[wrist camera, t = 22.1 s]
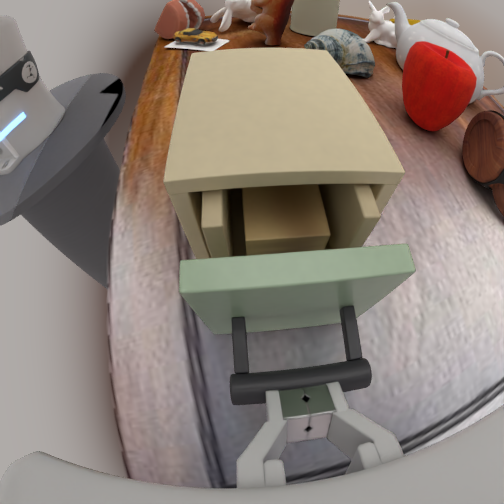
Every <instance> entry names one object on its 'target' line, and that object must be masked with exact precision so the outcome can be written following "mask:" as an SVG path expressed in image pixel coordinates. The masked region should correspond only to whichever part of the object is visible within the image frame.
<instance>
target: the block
mask: <svg viewBox="0 0 504 504" xmlns="http://www.w3.org/2000/svg"><path fill="white" fill-rule="evenodd" d="M242 202H243V216H244V231H245V244H246V256H248V255H262V254H276V253H289V252H302V251H316V250H324V249H325V247H326V245H327V242H328V240H329V238H330V236H331V234H330V229H329V225H328V221H327V217H326V213H325V209H324V205H323V201H322V198H321V194H320V190H319V186H318V184H302V185H279V186H260V187H245V188H242Z"/></svg>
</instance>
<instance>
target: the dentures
mask: <svg viewBox="0 0 504 504" xmlns="http://www.w3.org/2000/svg"><path fill="white" fill-rule="evenodd" d="M204 18H205V14H204V10H203V8H202V7H201V6H200V5H199V4H198V3H197V2H196V1H194V0H172V1H170V2H168V3H167V4H166V6H165V8H164V9H163V11H162V14H161V16H160V18H159V20H158V22H157V25H156V27H155V30H154V31H155V32H157V33H158V34H159V35H160V36H161V37H163V38H165V39H171V38H173V36H174V34H175V33H176V32H178V31H182V30H184V29H187V28H196V29H198V28H199V27H200V26H201V24H202V23H203V21H204Z"/></svg>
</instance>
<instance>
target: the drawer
mask: <svg viewBox="0 0 504 504" xmlns="http://www.w3.org/2000/svg"><path fill="white" fill-rule="evenodd" d="M318 186H319V190H320V194H321V198H322V201H323V205H324V209H325V213H326V217H327V221H328V225H329V229H330V234H331V236H330V238H329V240H328V242H327V245H326V247H325V249H324V250H316V251H302V252H289V253H276V254H262V255H248V256H246V244H245V231H244V216H243V202H242V188H232V189H219V190H208V191H202V222H201V228H202V231H203V234H204V237H205V240H206V243H207V246H208V249H209V252H210V255H211V258H207V259H193V260H182V261H180V274H179V292H180V294H181V295H182V297H183V298H184V299H185V300H186V302H187V303H188V304H189V305H190V306H191V308H192V309H193V310H194V311H195V313H196V314H197V315H198V316H199V317H200V319H201V320H202V321H203V322H204V323H205V324H206V326H207V327H208V328H209V329H210V330H211V331H212V333H213V334H232V339H233V355H234V371H235V373H236V374H232V375H231V376H230V394H231V401H232V404H233V405H247V404H262V403H266V393H265V392H266V391H270V390H281V389H293V388H302V387H307V386H314V385H320V384H326V383H332V382H339V384H340V386H341V389H342V391H343V392H347V391H352V390H357V389H361V388H366V387H368V386H369V385H370V383H371V378H372V373H371V367H370V364H369V362H368V360H367V359H365V358H362V353H361V346H360V339H359V332H358V326H357V320H356V318H357V317H359V316H360V315H361V314H363V313H364V312H365V311H367V310H368V309H369V308H371V307H372V306H373V305H375V304H376V303H377V302H379V301H380V300H381V299H383V298H384V297H385V296H386V295H388V294H389V293H390V292H391V291H393V290H394V289H395V288H396V287H398V286H399V285H400V284H401V283H403V282H404V281H405V280H406V279H407V278H409V277H410V276H411V275H412V274H413V273H414V272H415V271H416V269H415V266H414V262H413V259H412V256H411V252H410V249H409V246H408V244H395V245H382V246H369V247H362V245H363V244H364V242H365V241H366V239H367V238H368V236H369V235H370V233H371V232H372V230H373V229H374V227H375V226H376V224H377V222H378V221H379V219H380V217H381V215H380V213H379V210H378V207H377V204H376V201H375V199H374V196H373V193H372V191H371V188H370V186H369V184H318ZM335 323H341V325H342V331H343V338H344V345H345V352H346V360H347V361H345V362H339V363H333V364H327V365H320V366H313V367H306V368H298V369H289V370H280V371H270V372H258V373H249V363H248V349H247V335H246V333H248V332H261V331H273V330H284V329H294V328H303V327H312V326H320V325H328V324H335ZM360 358H361V359H360Z"/></svg>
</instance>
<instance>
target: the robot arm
mask: <svg viewBox="0 0 504 504" xmlns="http://www.w3.org/2000/svg"><path fill="white" fill-rule="evenodd" d="M64 114H65V108H64V106H62V105H61V104H60V103H59V102H58V101H57V100H56V98H55V97H54V96H53V95H52V94H51V92H50V91H49V90H48V88H47V87H46V85H45V84H44V82H43V81H42V79H41V78H40V76H39V73H38V69H37V65H36V63H35V60H34V58H33V56H32V54H31V52H30V51H27V49H26V47H25V44H24V42H23V39H22V36H21V34H20V31H19V28H18V26H17V23H16V21H15V19H14V18H12V17H10V16H0V175H5V174H9V173H11V172H12V171H13V170H14V169H15V168H16V167H17V166H18V165H19V163H20V162H21V161H22V160H23V159H24V158H25V157H26V156H27V155H28V154H29V153H31V152H32V151H33V150H34V149H35V148H37V147H38V146H39V145H40V144H41V143H42V142H43V141H44V140H45V139H46V138H47V137H48V136H49V135H50V134H51V133H52V132H53V131H54V129H55V128H56V127H57V126H58V124H59V123H60V121H61V120H62V118H63V116H64ZM265 393H266V413H267V422H265V423H264V424H263V426H262V427H261V428H260V430H259V431H258V433H257V434H256V435H255V437H254V438H253V440H252V441H251V442H250V444H249V445H248V446H247V448H246V449H245V450H244V452H243V453H242V454H241V456H240V457H239V458H238V460H237V488H196V487H183V486H173V485H164V484H157V483H150V482H144V481H139V480H133V479H128V478H123V477H119V476H115V475H110V474H106V473H103V472H99V471H95V470H92V469H88V468H85V467H82V466H79V465H76V464H73V463H69V462H67V461H64V460H62V459H59V458H56V457H54V456H51V455H48V454H46V453H44V452H40V451H37V452H33V453H31V454H28V455H26V456H24V457H22V458H20V459H19V460H17V461H15V462H13V463H12V464H11V465H10V466H9V467H8V469H7V470H6V472H5V473H4V475H3V477H2V479H1V481H0V504H504V405H502V406H501V407H499V408H498V409H496V410H495V411H493V412H492V413H490V414H488V415H487V416H485V417H484V418H482V419H480V420H479V421H477V422H475V423H474V424H472V425H470V426H468V427H467V428H465V429H463V430H461V431H459V432H457V433H456V434H454V435H452V436H450V437H448V438H446V439H444V440H442V441H440V442H437V443H435V444H433V445H431V446H429V447H426V448H424V449H422V450H419V451H417V452H414V453H412V454H409V455H407V456H405V455H404V453H403V451H402V449H401V447H400V444H399V442H398V440H397V438H396V436H395V434H394V433H392V432H391V431H389V430H387V429H385V428H384V427H382V426H380V425H379V424H377V423H375V422H374V421H372V420H371V419H369V418H367V417H366V416H364V415H362V414H361V413H359V412H358V411H356V410H355V409H349V406H348V404H347V401H346V399H345V396H344V394H343V391H342V389H341V386H340V384H339V382H332V383H326V384H320V385H314V386H307V387H302V388H293V389H281V390H270V391H266V392H265ZM321 438H327V439H328V440H329V441H330V442H331V443H333V444H334V445H335V446H336V447H337V448H338V449H339V450H340V451H342V452H343V453H344V454H345V455H346V456H347V457H349V458H350V459H351V460H352V461H351V463H350V465H349V467H348V469H347V471H346V473H345V475H341V476H337V477H332V478H327V479H322V480H317V481H311V482H305V483H298V484H291V485H286V478H285V471H284V465H283V461H281V460H279V457H280V455H281V454H282V452H283V450H284V448H285V446H286V444H287V443H294V442H301V441H306V440H314V439H321Z"/></svg>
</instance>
